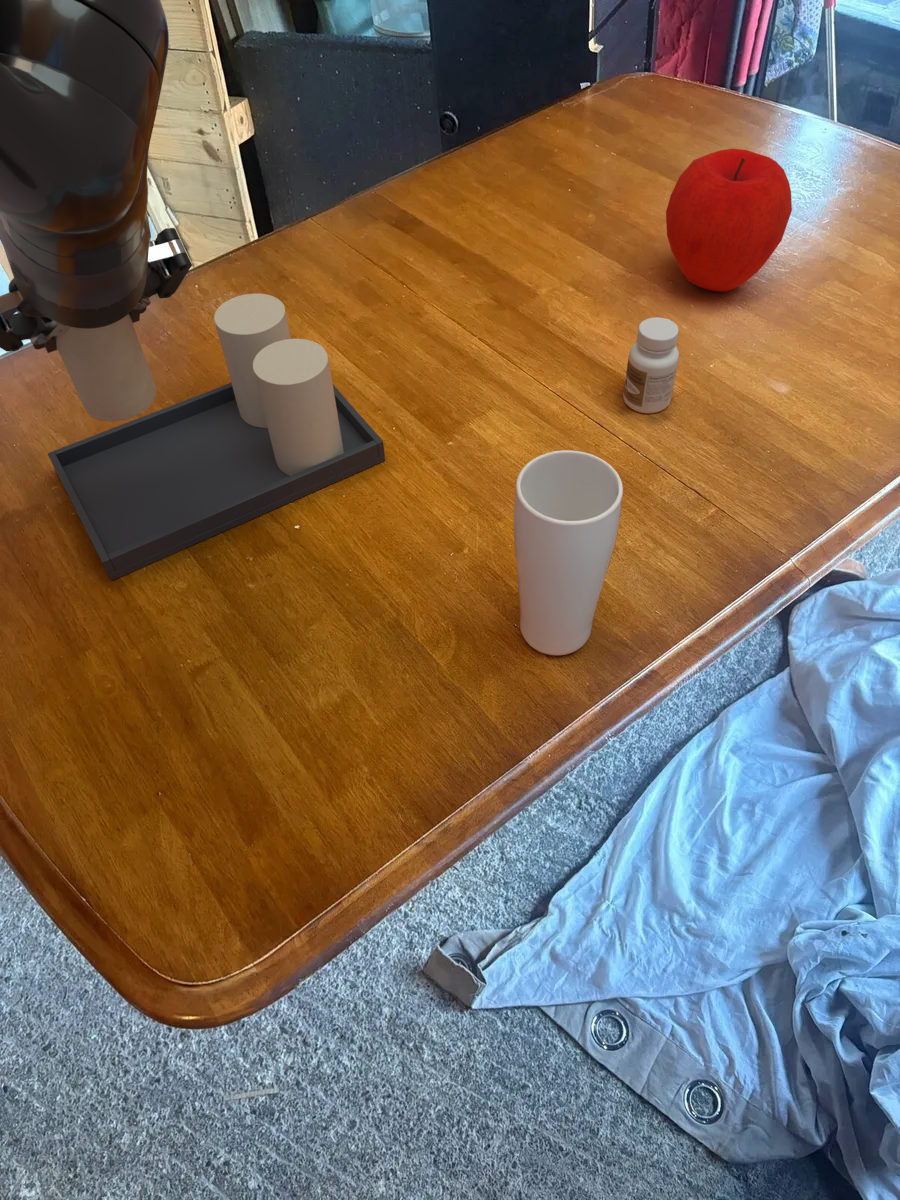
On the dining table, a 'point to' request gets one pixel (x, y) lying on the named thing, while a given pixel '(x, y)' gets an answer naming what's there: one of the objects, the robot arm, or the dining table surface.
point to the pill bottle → (652, 366)
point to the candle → (108, 370)
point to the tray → (191, 476)
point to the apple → (727, 217)
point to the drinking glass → (563, 545)
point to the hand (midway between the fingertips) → (87, 323)
